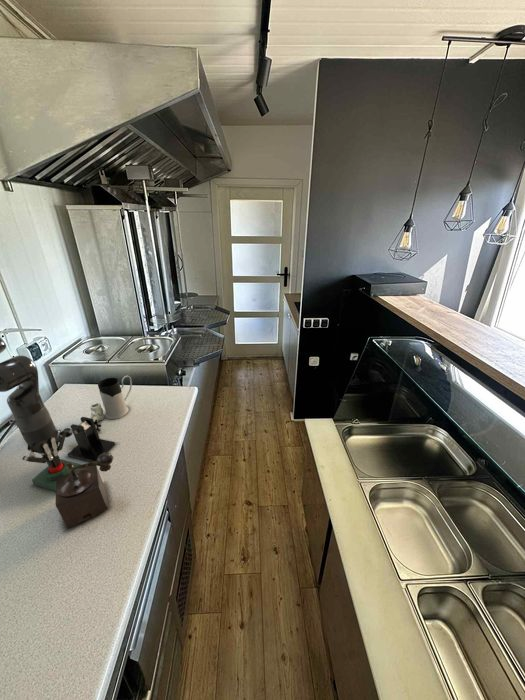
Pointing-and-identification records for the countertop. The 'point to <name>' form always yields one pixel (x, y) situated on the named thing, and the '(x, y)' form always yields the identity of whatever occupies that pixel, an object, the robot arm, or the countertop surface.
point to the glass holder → (113, 397)
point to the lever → (84, 424)
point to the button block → (52, 476)
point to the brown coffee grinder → (82, 491)
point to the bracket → (88, 442)
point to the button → (57, 469)
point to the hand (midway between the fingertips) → (55, 465)
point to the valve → (97, 414)
